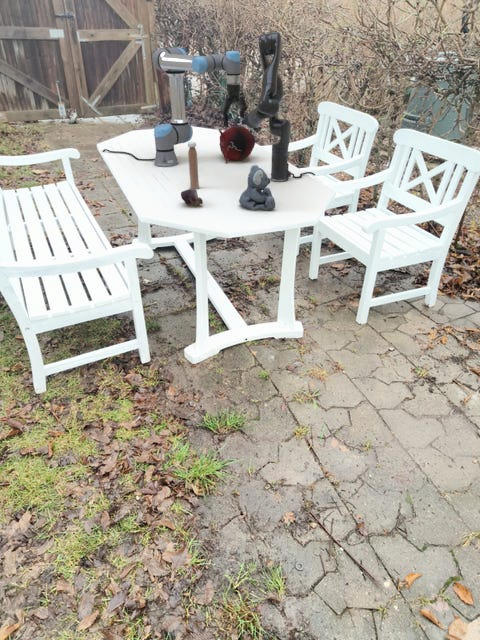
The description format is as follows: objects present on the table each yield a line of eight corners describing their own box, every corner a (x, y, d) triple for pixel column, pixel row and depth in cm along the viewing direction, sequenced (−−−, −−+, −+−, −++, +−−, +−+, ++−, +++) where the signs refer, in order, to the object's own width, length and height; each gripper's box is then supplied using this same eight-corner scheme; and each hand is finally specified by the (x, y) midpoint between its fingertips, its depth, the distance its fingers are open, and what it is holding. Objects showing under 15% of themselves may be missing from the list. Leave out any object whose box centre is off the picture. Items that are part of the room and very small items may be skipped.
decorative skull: (216, 132, 306) (216, 129, 283) (250, 124, 306) (252, 120, 282) (223, 164, 313) (223, 164, 290) (256, 156, 312) (259, 156, 289)
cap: (187, 147, 239) (187, 143, 238) (188, 145, 242) (188, 141, 241) (195, 147, 239) (195, 143, 238) (196, 145, 242) (196, 141, 241)
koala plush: (276, 211, 223) (277, 171, 212) (240, 212, 222) (240, 172, 211) (271, 199, 237) (272, 161, 226) (237, 200, 236) (237, 162, 225)
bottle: (190, 189, 252) (187, 144, 238) (191, 186, 256) (188, 142, 242) (198, 189, 252) (195, 144, 238) (199, 186, 256) (196, 142, 242)
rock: (196, 202, 238) (178, 205, 233) (194, 185, 234) (176, 188, 230) (205, 205, 228) (187, 208, 224) (203, 188, 224) (185, 191, 220)
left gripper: (222, 86, 238) (223, 129, 250) (253, 82, 253) (253, 122, 265) (212, 85, 242) (214, 127, 254) (243, 80, 257) (243, 120, 269)
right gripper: (268, 116, 234) (256, 126, 249) (244, 105, 228) (232, 116, 243) (265, 130, 234) (253, 139, 249) (240, 119, 228) (229, 130, 243)
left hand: (234, 125), depth 259 cm, fingers open, 13 cm apart
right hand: (243, 128), depth 246 cm, fingers open, 8 cm apart
